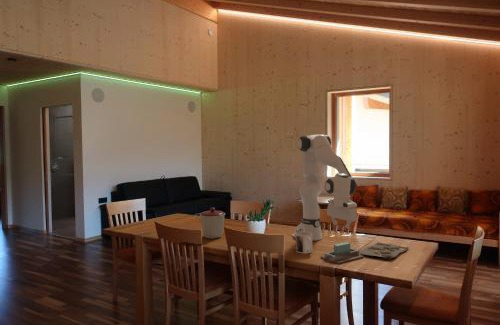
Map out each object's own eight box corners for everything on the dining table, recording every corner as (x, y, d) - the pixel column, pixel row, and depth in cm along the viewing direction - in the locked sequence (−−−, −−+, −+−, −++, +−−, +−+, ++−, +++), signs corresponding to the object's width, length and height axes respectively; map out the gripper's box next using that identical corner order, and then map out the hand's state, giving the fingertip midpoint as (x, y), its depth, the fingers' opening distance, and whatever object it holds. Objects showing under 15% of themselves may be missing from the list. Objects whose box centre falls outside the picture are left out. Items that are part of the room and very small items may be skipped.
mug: (314, 249, 242) (314, 231, 241) (312, 255, 230) (312, 236, 230) (297, 248, 245) (297, 231, 244) (294, 254, 233) (294, 235, 232)
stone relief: (409, 250, 240) (377, 244, 252) (409, 245, 239) (377, 239, 252) (390, 263, 215) (355, 256, 228) (390, 258, 215) (356, 251, 227)
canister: (200, 240, 268) (199, 210, 266) (199, 234, 285) (199, 205, 284) (226, 239, 270) (226, 209, 269) (224, 233, 288) (224, 204, 287)
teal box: (334, 257, 222) (333, 244, 222) (346, 254, 228) (346, 242, 227) (337, 258, 220) (337, 245, 220) (350, 255, 225) (350, 243, 225)
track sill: (320, 258, 224) (320, 252, 224) (345, 252, 235) (345, 246, 235) (338, 264, 212) (338, 257, 212) (363, 257, 223) (363, 251, 223)
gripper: (324, 200, 229) (324, 223, 230) (351, 205, 212) (350, 230, 213) (332, 199, 232) (332, 222, 233) (359, 204, 215) (358, 229, 216)
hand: (341, 226), depth 223 cm, fingers open, 8 cm apart
